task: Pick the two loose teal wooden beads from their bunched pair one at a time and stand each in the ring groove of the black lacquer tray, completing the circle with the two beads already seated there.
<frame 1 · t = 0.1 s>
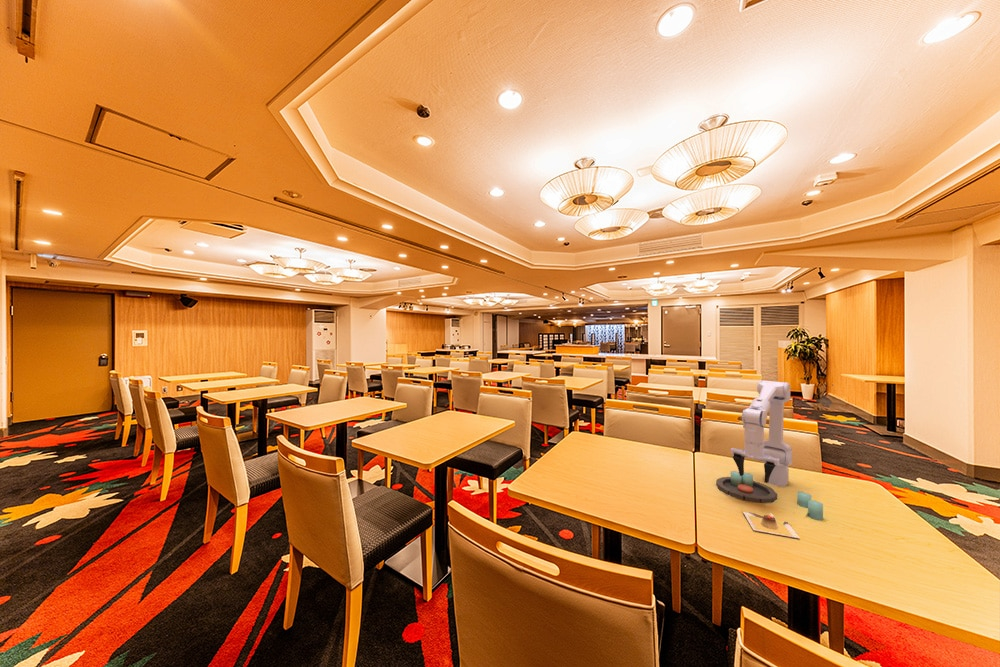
hand: (753, 478, 126), 10 cm above the table, fingers open, 7 cm apart
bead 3: (747, 486, 140), point 1 cm above the table, touching ring tray
ring tray: (745, 493, 136), on the table
bead 1: (815, 517, 119), on the table
bead 4: (736, 485, 141), point 1 cm above the table, touching ring tray
bead 2: (804, 508, 125), on the table
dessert: (769, 527, 113), on the table
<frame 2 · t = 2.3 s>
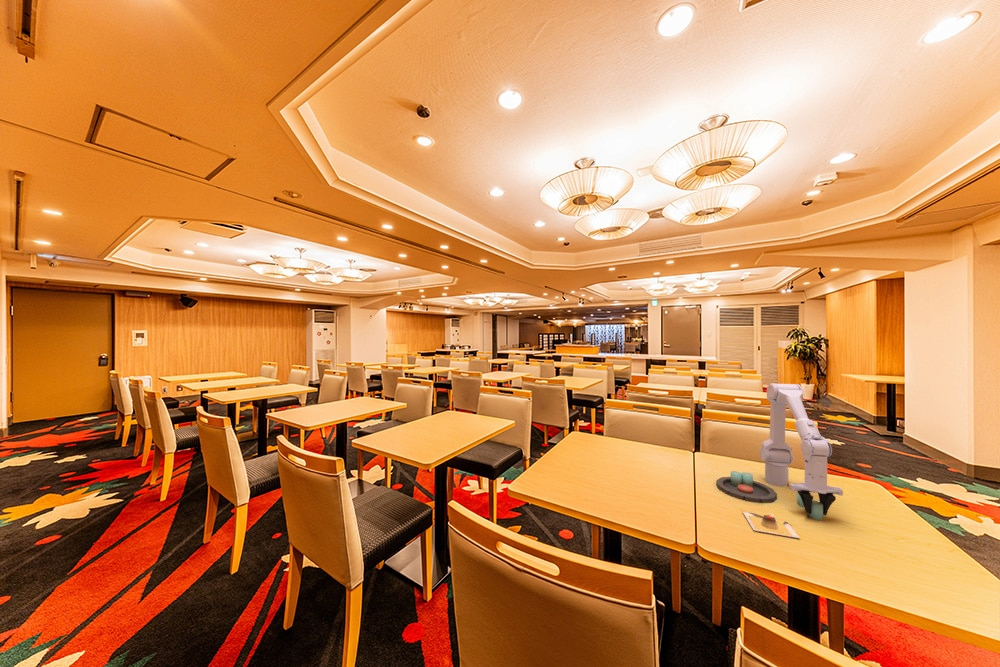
hand: (815, 513, 119), 1 cm above the table, fingers closed on bead 1, 4 cm apart
bead 1: (815, 517, 119), on the table, touching gripper
everything else where it was.
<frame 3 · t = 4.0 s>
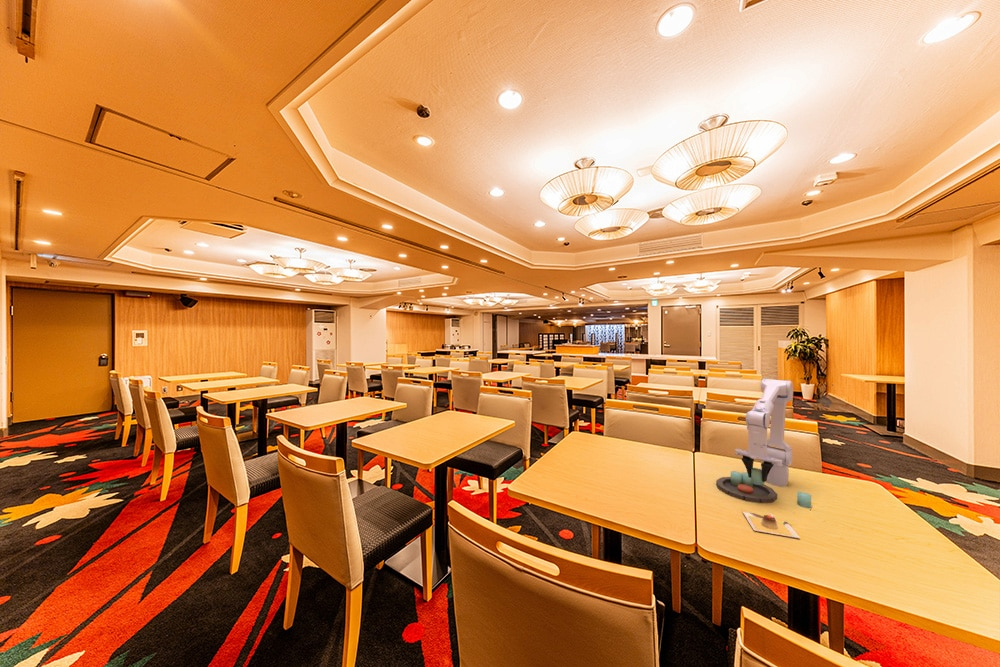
hand: (757, 479, 130), 8 cm above the table, fingers closed on bead 1, 4 cm apart
bead 1: (757, 483, 130), point 7 cm above the table, touching gripper
everything else where it was.
when the fingers open (3 cm above the table, at t = 5.8 s): bead 1 stays where it is, resting on ring tray.
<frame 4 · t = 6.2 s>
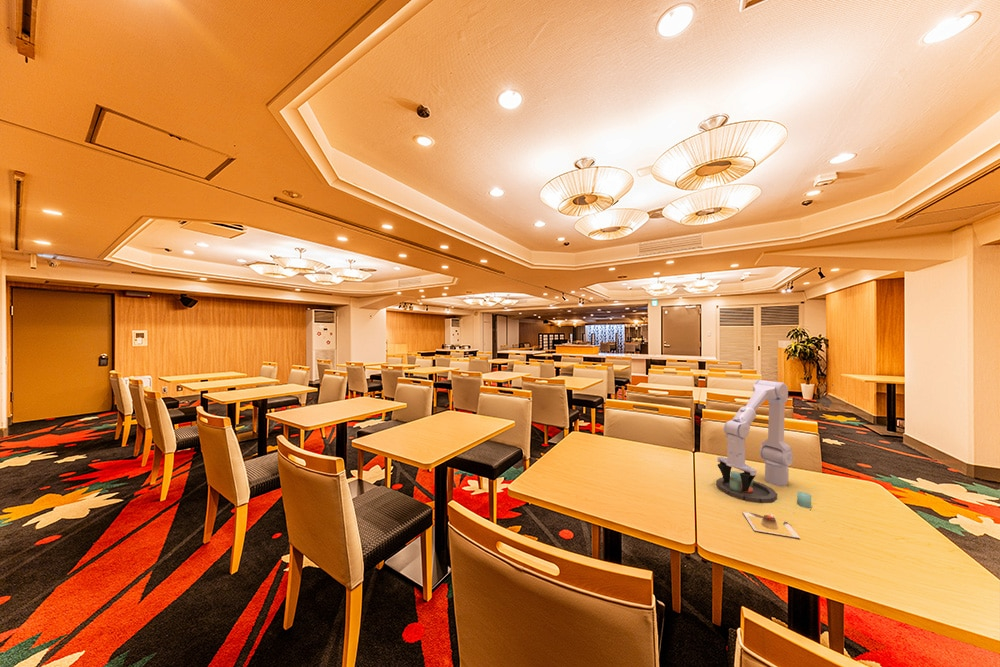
hand: (735, 486, 134), 3 cm above the table, fingers open, 7 cm apart
bead 1: (735, 492, 134), point 1 cm above the table, touching ring tray
everything else where it was.
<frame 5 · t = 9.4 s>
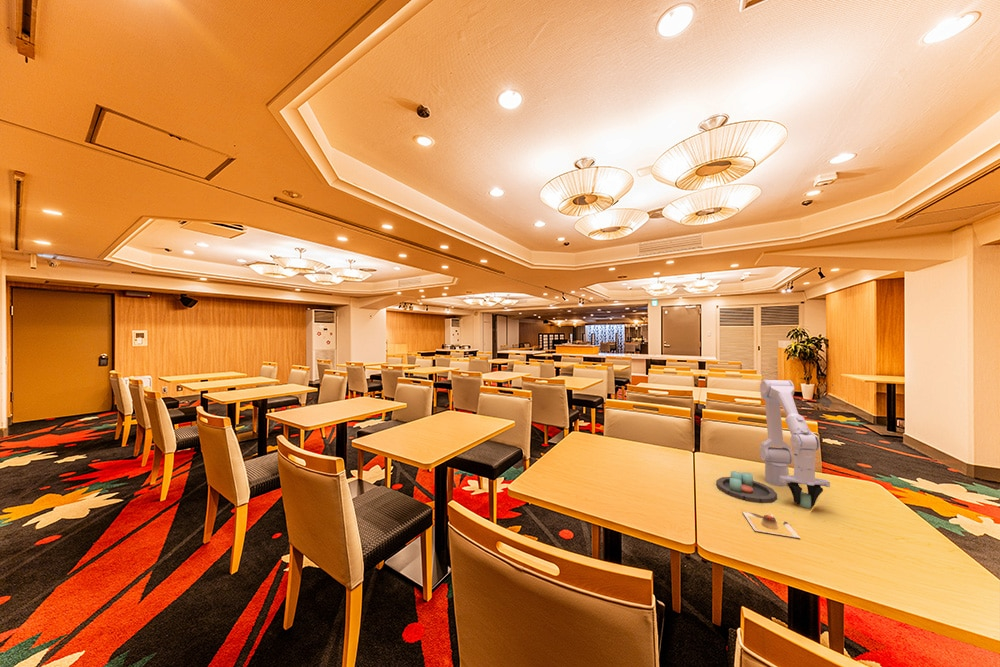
hand: (804, 504, 125), 1 cm above the table, fingers closed on bead 2, 4 cm apart
bead 2: (804, 507, 125), on the table, touching gripper
everything else where it was.
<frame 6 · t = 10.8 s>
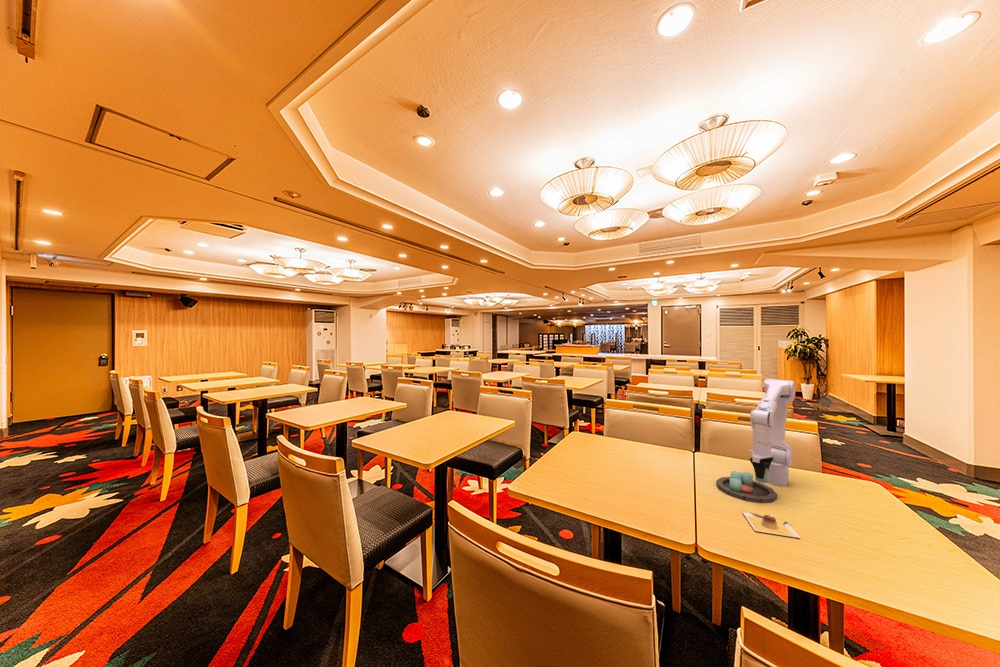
hand: (761, 476, 132), 8 cm above the table, fingers closed on bead 2, 4 cm apart
bead 2: (761, 480, 132), point 7 cm above the table, touching gripper
everything else where it was.
when the fingers open (3 cm above the table, at t = 12.2 s): bead 2 stays where it is, resting on ring tray.
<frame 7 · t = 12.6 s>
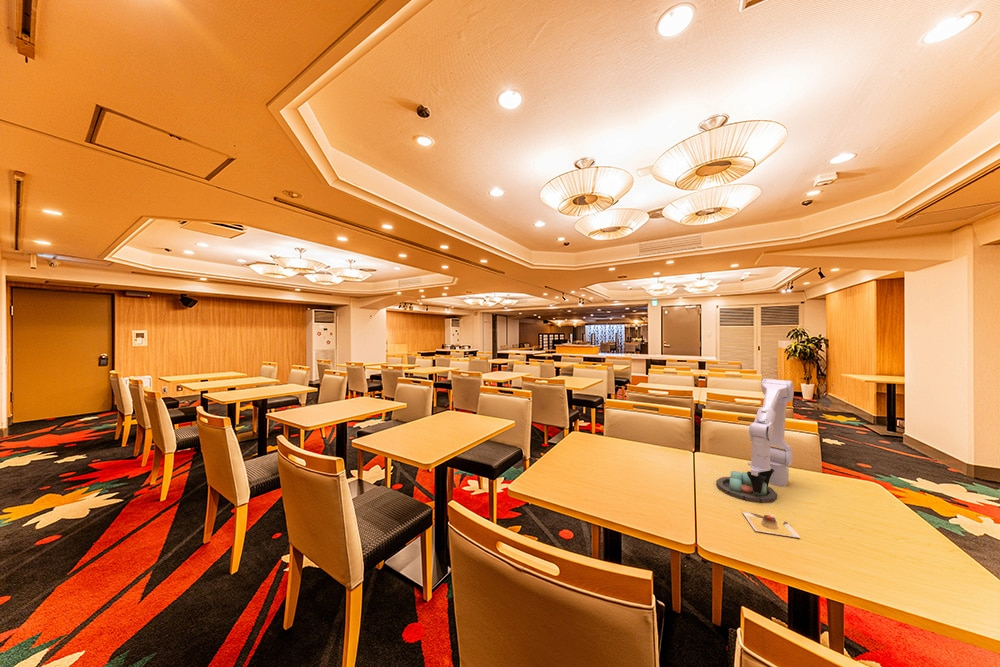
hand: (760, 489, 132), 3 cm above the table, fingers open, 7 cm apart
bead 2: (760, 495, 132), point 1 cm above the table, touching ring tray
everything else where it was.
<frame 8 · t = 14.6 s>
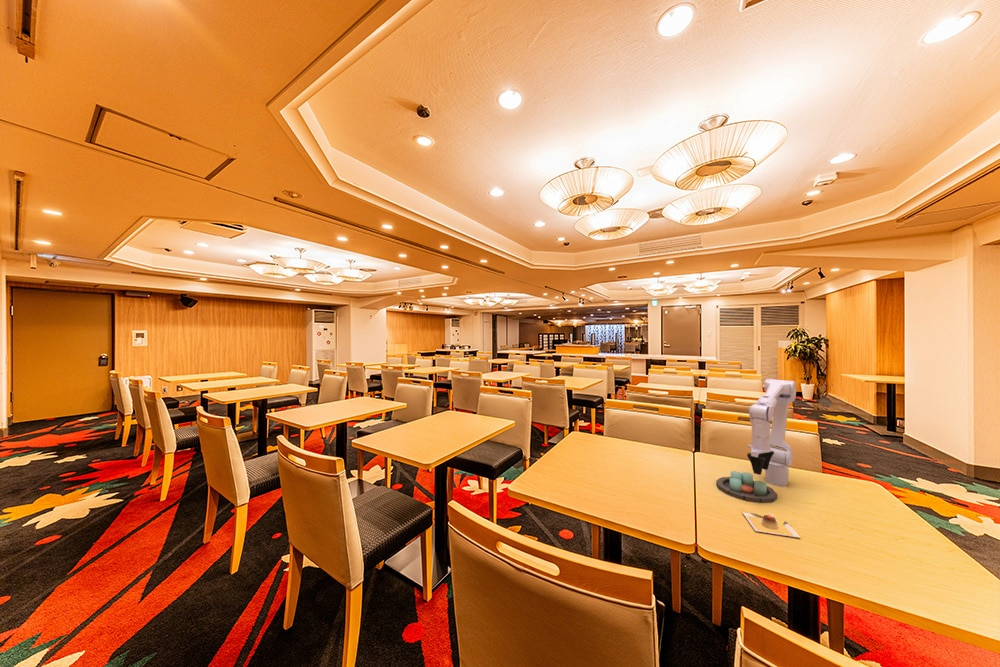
hand: (760, 471, 132), 10 cm above the table, fingers open, 7 cm apart
nothing on the table moved.
at the end: bead 1 0.1 cm from the target spot, point 1.0 cm above the table; bead 2 0.0 cm from the target spot, point 1.0 cm above the table; bead 2 tilted 0° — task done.
